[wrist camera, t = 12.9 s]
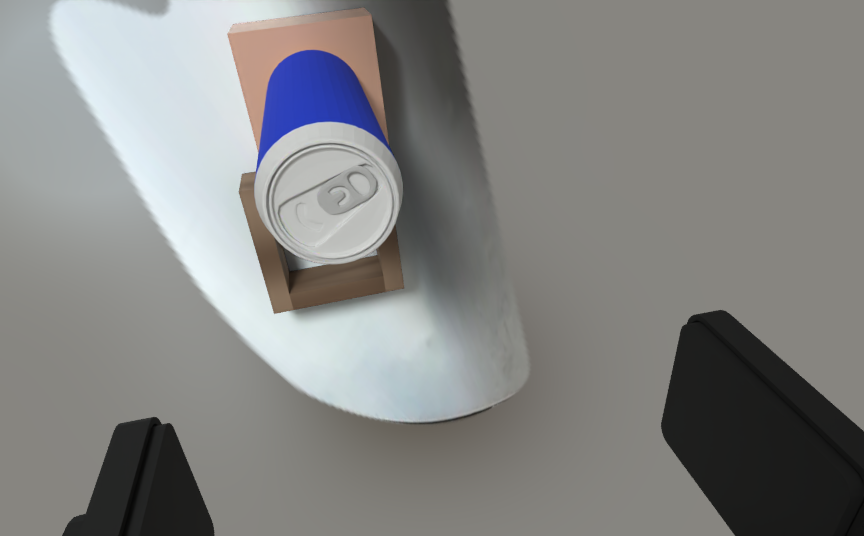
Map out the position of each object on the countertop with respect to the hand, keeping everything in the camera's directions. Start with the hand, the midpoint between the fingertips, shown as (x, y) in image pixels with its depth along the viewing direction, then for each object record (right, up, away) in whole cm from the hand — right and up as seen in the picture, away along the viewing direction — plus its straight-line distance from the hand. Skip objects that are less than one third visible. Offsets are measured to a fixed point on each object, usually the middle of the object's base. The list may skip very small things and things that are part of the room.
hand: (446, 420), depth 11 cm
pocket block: (-8, +6, +29) cm, 31 cm away
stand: (-8, +14, +24) cm, 29 cm away
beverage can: (-7, +12, +22) cm, 26 cm away
